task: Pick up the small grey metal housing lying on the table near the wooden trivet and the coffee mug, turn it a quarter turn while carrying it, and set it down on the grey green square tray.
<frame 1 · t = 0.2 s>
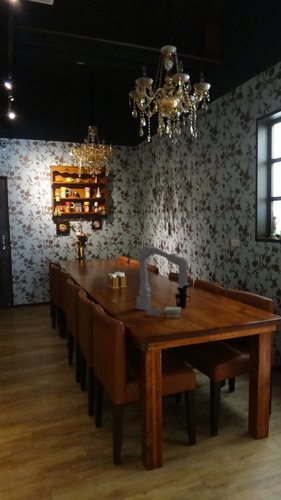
hand: (183, 296, 224), 10 cm above the table, tool pointing down, fingers open, 7 cm apart
coffee mug: (182, 307, 236), on the table
trivet: (172, 316, 211), on the table
housing: (153, 315, 216), on the table
grey green square tray: (172, 311, 224), on the table
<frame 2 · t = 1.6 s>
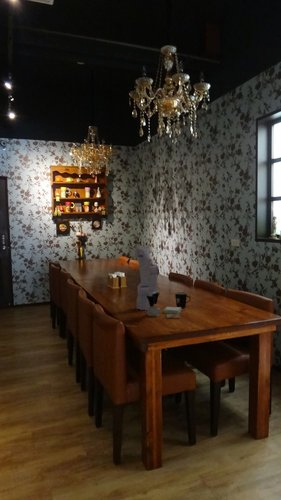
hand: (153, 305, 216), 7 cm above the table, tool pointing down, fingers open, 7 cm apart
nothing on the table moved.
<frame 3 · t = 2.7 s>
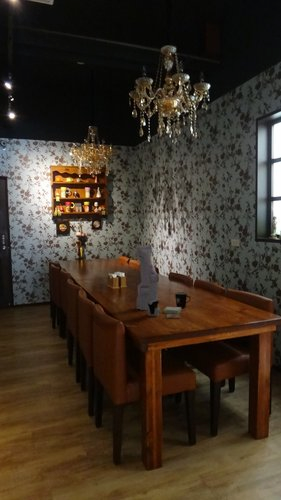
hand: (153, 313, 216), 1 cm above the table, tool pointing down, fingers closed on housing, 4 cm apart
housing: (153, 315, 216), on the table, touching gripper
everything else where it was.
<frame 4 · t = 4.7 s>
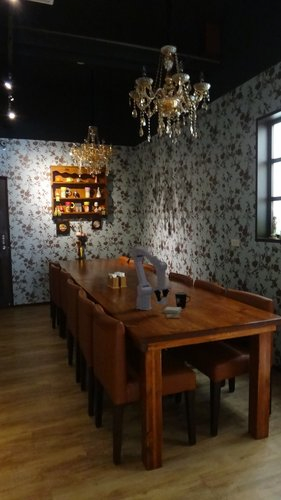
hand: (161, 301, 219), 8 cm above the table, tool pointing down, fingers closed on housing, 4 cm apart
housing: (161, 304, 219), point 6 cm above the table, touching gripper
everything else where it was.
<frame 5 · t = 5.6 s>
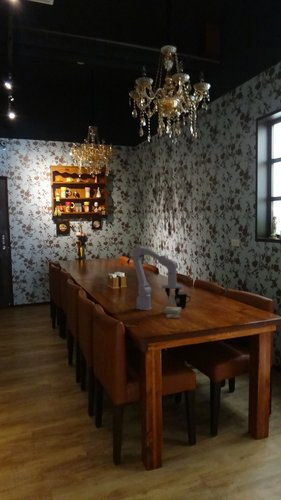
hand: (172, 299, 224), 8 cm above the table, tool pointing down, fingers closed on housing, 4 cm apart
housing: (172, 303, 224), point 6 cm above the table, touching gripper
everything else where it was.
when the fingers open (5 cm above the table, at t = 6.5 s): housing stays where it is, resting on grey green square tray.
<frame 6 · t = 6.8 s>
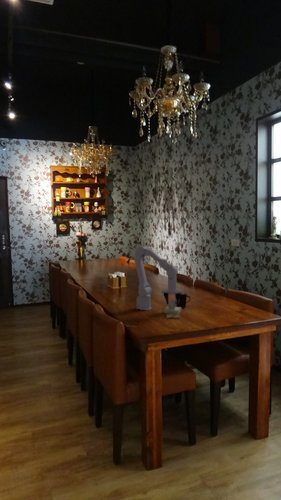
hand: (172, 304, 224), 5 cm above the table, tool pointing down, fingers open, 6 cm apart
housing: (172, 308, 225), point 2 cm above the table, touching grey green square tray
everything else where it was.
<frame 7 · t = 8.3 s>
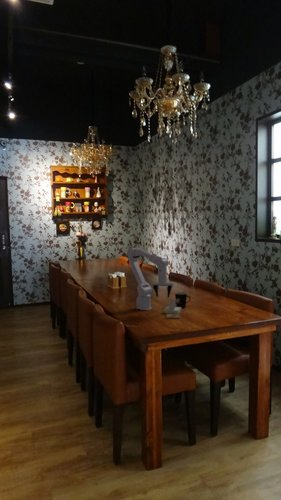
hand: (162, 296, 223), 10 cm above the table, tool pointing down, fingers open, 7 cm apart
nothing on the table moved.
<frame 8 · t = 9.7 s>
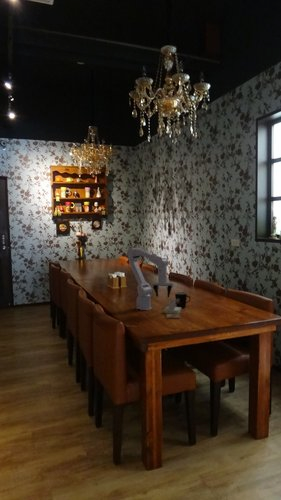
hand: (162, 296, 223), 10 cm above the table, tool pointing down, fingers open, 7 cm apart
nothing on the table moved.
at the end: housing inside the target area on the grey green square tray (0.3 cm from its centre), point 2.2 cm above the grey green square tray's base; housing tilted 0°; the gripper is holding nothing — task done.
